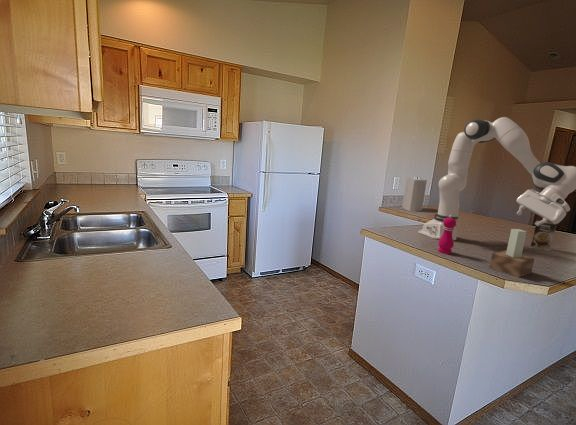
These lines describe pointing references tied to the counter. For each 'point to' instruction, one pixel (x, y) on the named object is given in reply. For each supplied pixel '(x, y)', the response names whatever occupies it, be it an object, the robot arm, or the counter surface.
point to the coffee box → (543, 236)
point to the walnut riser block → (511, 264)
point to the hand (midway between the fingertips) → (526, 219)
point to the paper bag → (414, 194)
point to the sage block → (516, 243)
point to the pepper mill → (447, 236)
